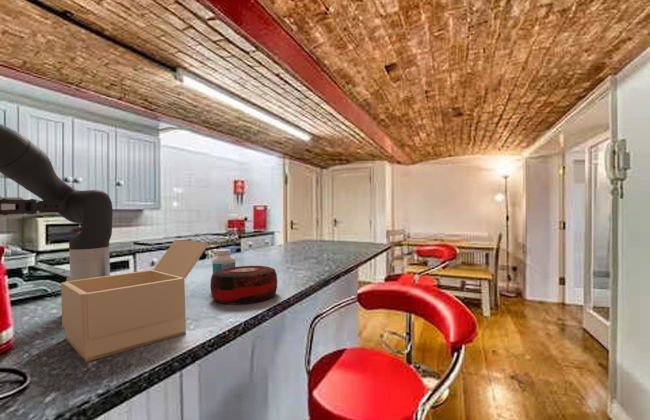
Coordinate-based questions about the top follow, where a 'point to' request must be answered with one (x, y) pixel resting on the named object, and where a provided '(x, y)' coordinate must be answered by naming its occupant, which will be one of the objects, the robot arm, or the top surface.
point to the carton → (122, 312)
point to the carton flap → (181, 257)
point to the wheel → (243, 284)
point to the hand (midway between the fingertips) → (64, 206)
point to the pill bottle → (223, 260)
